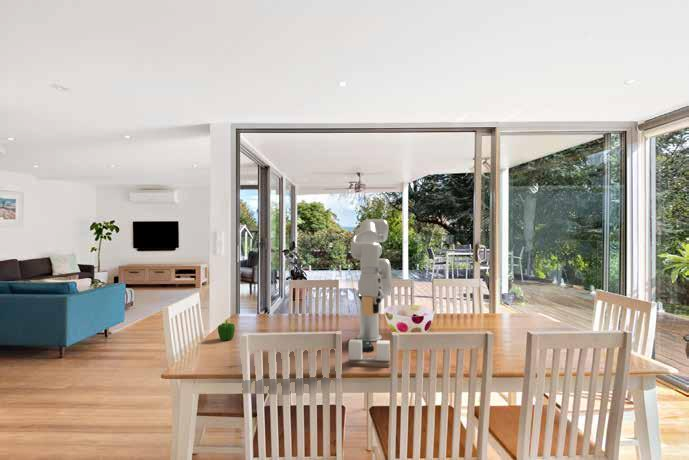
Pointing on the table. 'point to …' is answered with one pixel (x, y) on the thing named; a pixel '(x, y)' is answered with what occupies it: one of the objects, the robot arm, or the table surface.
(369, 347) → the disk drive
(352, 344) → the rail board
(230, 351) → the table surface
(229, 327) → the bell pepper
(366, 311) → the block
